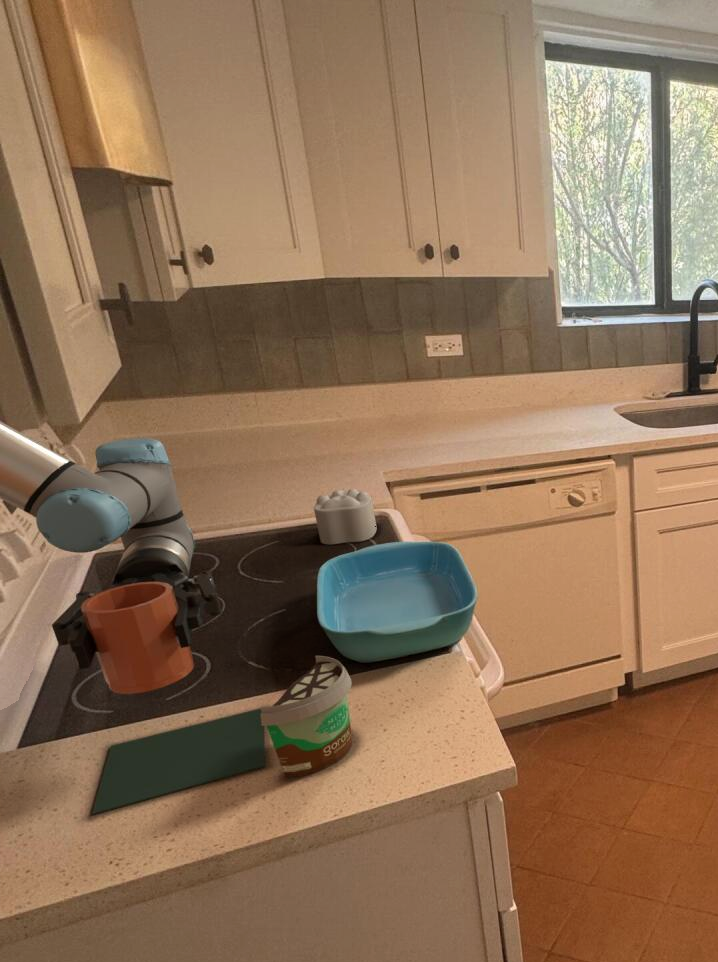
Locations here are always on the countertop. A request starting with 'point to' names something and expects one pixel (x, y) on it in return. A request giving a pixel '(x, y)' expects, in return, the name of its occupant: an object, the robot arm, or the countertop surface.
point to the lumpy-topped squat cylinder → (345, 517)
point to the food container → (312, 719)
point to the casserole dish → (395, 600)
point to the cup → (137, 637)
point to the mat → (181, 760)
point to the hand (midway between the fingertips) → (132, 646)
